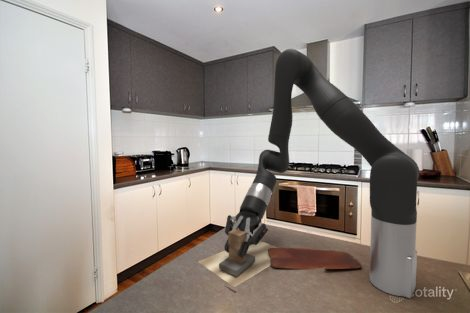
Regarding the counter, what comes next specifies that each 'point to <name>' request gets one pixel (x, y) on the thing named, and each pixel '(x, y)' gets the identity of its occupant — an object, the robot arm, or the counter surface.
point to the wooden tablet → (311, 259)
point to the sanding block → (236, 254)
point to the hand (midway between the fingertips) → (233, 253)
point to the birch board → (260, 264)
